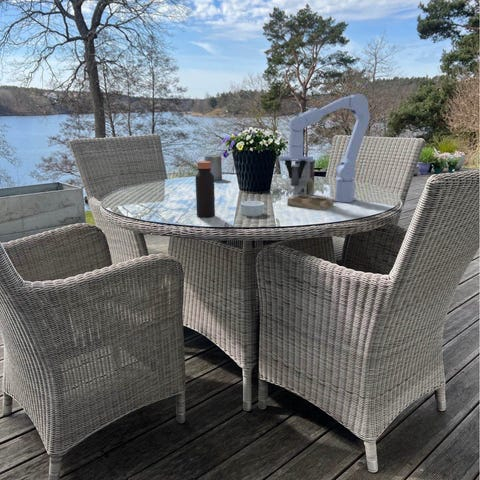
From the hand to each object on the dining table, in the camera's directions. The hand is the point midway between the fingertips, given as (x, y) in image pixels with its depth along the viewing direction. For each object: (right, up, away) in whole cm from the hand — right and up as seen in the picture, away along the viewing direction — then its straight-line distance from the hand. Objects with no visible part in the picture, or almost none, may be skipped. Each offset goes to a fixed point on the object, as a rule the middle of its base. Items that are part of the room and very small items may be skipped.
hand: (295, 178), depth 181 cm
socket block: (+5, -12, -7) cm, 15 cm away
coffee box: (+6, -6, +15) cm, 17 cm away
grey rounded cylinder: (0, -3, +1) cm, 3 cm away
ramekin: (-19, -17, -21) cm, 33 cm away
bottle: (-37, -18, -23) cm, 47 cm away
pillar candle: (-39, +8, +64) cm, 75 cm away
